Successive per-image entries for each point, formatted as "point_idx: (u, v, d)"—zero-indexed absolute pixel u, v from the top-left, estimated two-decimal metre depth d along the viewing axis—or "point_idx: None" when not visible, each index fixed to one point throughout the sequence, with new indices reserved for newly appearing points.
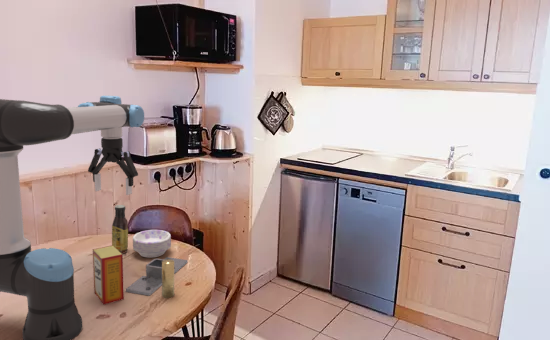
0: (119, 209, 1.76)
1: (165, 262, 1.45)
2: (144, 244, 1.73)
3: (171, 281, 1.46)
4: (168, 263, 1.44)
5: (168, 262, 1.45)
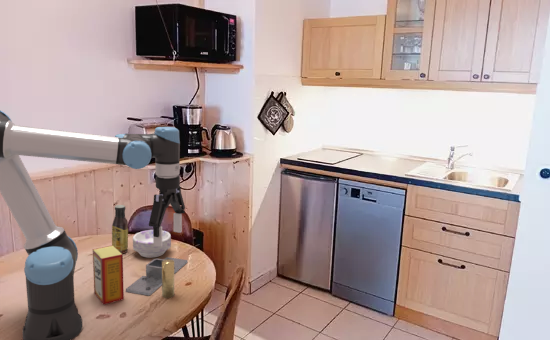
0: (119, 209, 1.76)
1: (165, 262, 1.45)
2: (144, 244, 1.73)
3: (171, 281, 1.46)
4: (168, 263, 1.44)
5: (168, 262, 1.45)
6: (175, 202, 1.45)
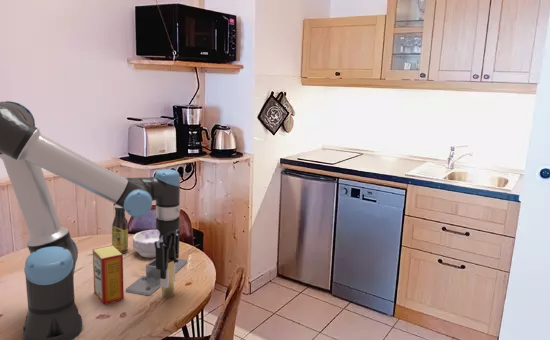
0: (119, 209, 1.76)
1: None
2: (144, 244, 1.73)
3: (171, 281, 1.46)
4: (168, 263, 1.44)
5: (168, 262, 1.45)
6: (172, 245, 1.46)
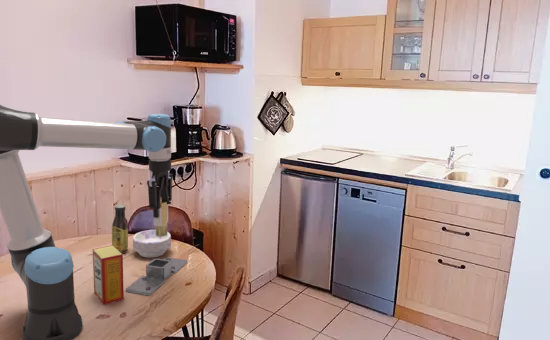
0: (119, 209, 1.76)
1: None
2: (144, 244, 1.73)
3: (164, 220, 1.54)
4: (161, 203, 1.53)
5: (161, 202, 1.54)
6: (165, 187, 1.54)
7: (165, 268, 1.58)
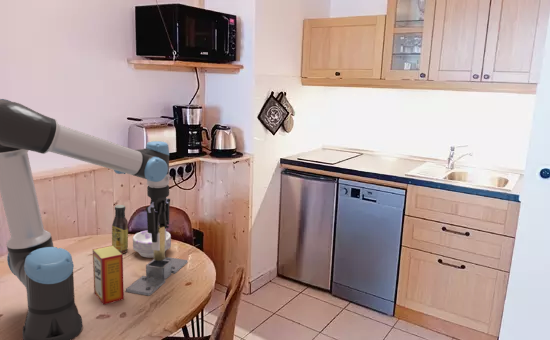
0: (119, 209, 1.76)
1: None
2: (144, 244, 1.73)
3: (162, 245, 1.58)
4: (159, 228, 1.57)
5: (159, 227, 1.58)
6: (163, 212, 1.58)
7: (165, 268, 1.58)
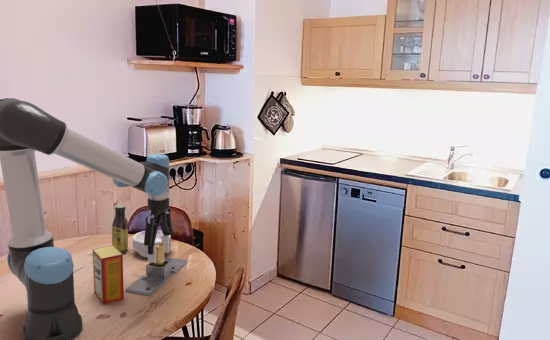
0: (119, 209, 1.76)
1: (156, 245, 1.59)
2: None
3: (161, 263, 1.59)
4: (159, 246, 1.58)
5: (159, 245, 1.59)
6: (164, 222, 1.60)
7: (165, 268, 1.58)
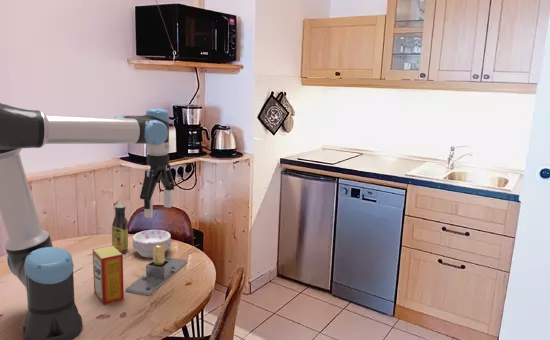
0: (119, 209, 1.76)
1: (156, 245, 1.59)
2: (144, 244, 1.73)
3: (161, 263, 1.59)
4: (159, 246, 1.58)
5: (159, 245, 1.59)
6: (165, 179, 1.57)
7: (165, 268, 1.58)
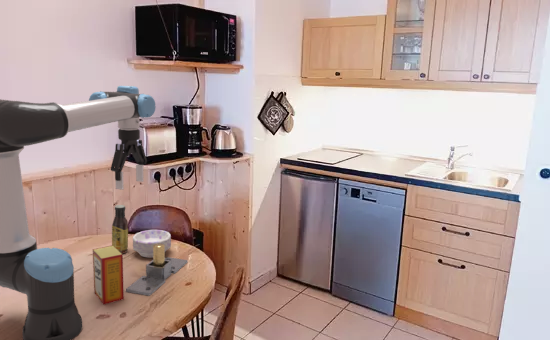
0: (119, 209, 1.76)
1: (156, 245, 1.59)
2: (144, 244, 1.73)
3: (161, 263, 1.59)
4: (159, 246, 1.58)
5: (159, 245, 1.59)
6: (136, 153, 1.65)
7: (165, 268, 1.58)
